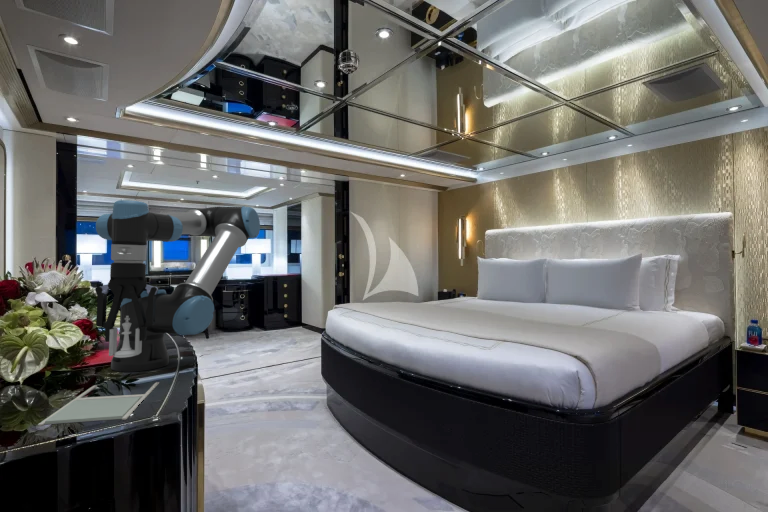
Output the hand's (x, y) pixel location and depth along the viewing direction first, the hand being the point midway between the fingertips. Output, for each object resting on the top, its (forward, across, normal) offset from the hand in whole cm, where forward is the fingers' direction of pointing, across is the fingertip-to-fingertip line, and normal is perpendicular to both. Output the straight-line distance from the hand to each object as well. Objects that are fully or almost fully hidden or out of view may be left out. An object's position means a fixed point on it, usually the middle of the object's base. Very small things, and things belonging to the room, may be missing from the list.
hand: (125, 353), depth 98 cm
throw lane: (+9, 0, -10) cm, 13 cm away
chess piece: (+1, 0, 0) cm, 1 cm away
